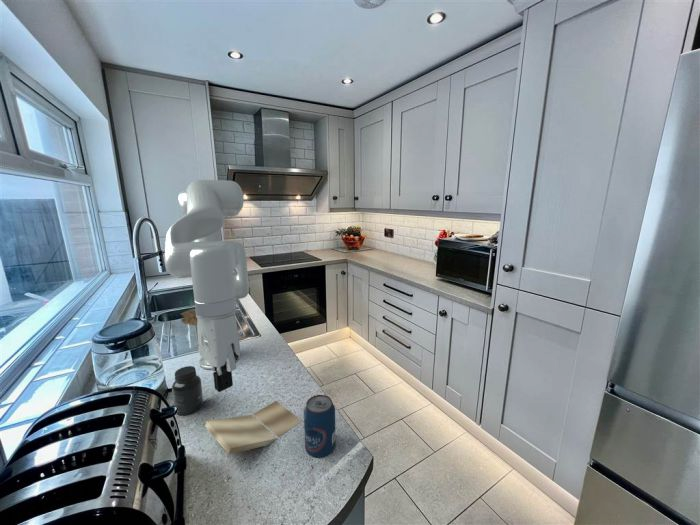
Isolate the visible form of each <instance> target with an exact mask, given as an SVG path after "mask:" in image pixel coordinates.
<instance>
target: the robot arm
mask: <svg viewBox="0 0 700 525" xmlns="http://www.w3.org/2000/svg"><path fill="white" fill-rule="evenodd" d="M244 197H245V196H244V193H243V189H242V188H241V186H240V185H239V183H238V182H236V181H234V180H227V179H226V180H223V179H221V180H220V179H218V180H217V179H197V180H194V181H192V182H191V183H189V184H188V186H187V188H186V189H184V190H182V191H180V192H179V193H178V197H177V200H178V204H179V208H180V210H181V212H182V214H183V216H181V217H180V218H179V219H177V220H176V221H175V222H174V223H172V225H170V227H169V228H168V230H167V232H166V235H165V240H164V242H165V243H164V263H165V268H166V270H167V273H168V274H169V275H171V276H172V277H173V278H178V279H187V278H191V283H192V290H193V291H192V292H193V300H194V308H195V310H196V317H197V326H196V328H197V329H196V330H197V331H196V332H197V346H198V354H199V355H200V356H201V358H200V359H199V366H200V368H202V369H205V370H212V372H213V373H212V374H213V384H214V385H213V386H214V390H216V391H217V393H220V392H223V391H225V390H227V389H229V388H231V387H233V386H234V385H233V384H234V383H233V382H234V381H233V371H235V370H237V364H236V361H238V360H240V358H241V345H240V337H239V330H238V325H237V319H236V313H237V302H236V300H240V299H241V300H242V299H244V298H246V297H247V296H248V295H249V294H250V293H249V291H250V285H249V284H250V283H249V273H248V262H247V261H248V260H247V255H246V254H247V252H246V249H245V246H244V245H243V243H241V242H239V241H227V240H222V235H221V234H222V233H221V231H222V230H221V229H222V228H223V226H224V224H225V222H226V221H225V219H226V218H225V217H236V216H238V215H239V214H240V212H241V211H242V209H243V207H244V203H245V202H244V199H245V198H244Z"/></svg>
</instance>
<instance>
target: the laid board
mask: <svg viewBox="0 0 700 525" xmlns="http://www.w3.org/2000/svg"><path fill="white" fill-rule="evenodd" d="M252 416H253V417H255V418H256V419H257V420H258V421H259V422H260V423H261V424H262V425H263V426H265V427H266V428H267V429H268V430H269V431H270V432H271V433H272V434H274V435H275V436H276V437H277V438H280V437H282V436H283V435H284V434H286V433H288V432H289V431H290V430H291V429H293V428H294V427H296V426H297V425H299V424H300V423H301V422H303V420H302V419H301V418H299V417H298V416H296V415H295V414H294V413H293V412H291V411H290V410H288V409H287V408H286V407H285V406H284V405H282V404H281V403H280V402H279V401H278V400H275V401H273V402H271V403H270V404H268V405H267V406H264V407H263V408H260V409H259V410H258V411H256V412H254V413H253V414H252Z"/></svg>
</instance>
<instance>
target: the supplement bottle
mask: <svg viewBox="0 0 700 525" xmlns="http://www.w3.org/2000/svg"><path fill="white" fill-rule="evenodd" d="M171 393H172V400H173V401H172V402H173V407H174V406H176V407H177V408H178V412H177V414H176V415H177V416H178V417H187V416H190V415H193V414H195V413H197V412H198V411H200V409H202V408H203V406H204V398H203V387H202V379H201V377H200V376H199V375H198V374H197V369H196V367H194V366H193V365H188V366H182V367H181V368H178V369H177V370H175V372H174V381H173V383H172V385H171ZM176 415H175V416H176Z"/></svg>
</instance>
